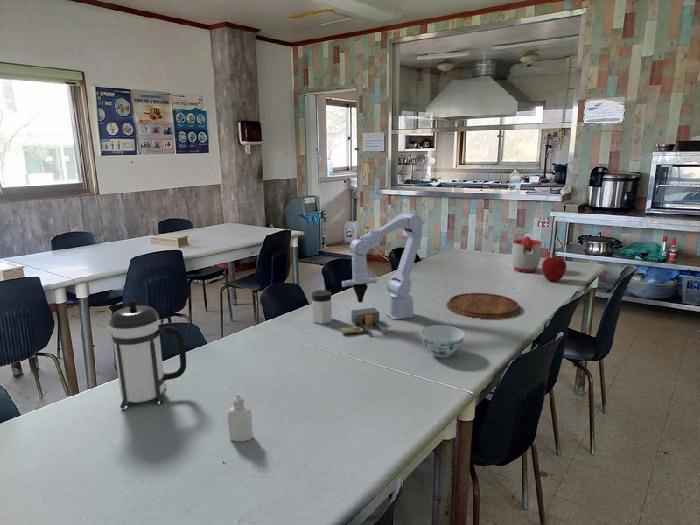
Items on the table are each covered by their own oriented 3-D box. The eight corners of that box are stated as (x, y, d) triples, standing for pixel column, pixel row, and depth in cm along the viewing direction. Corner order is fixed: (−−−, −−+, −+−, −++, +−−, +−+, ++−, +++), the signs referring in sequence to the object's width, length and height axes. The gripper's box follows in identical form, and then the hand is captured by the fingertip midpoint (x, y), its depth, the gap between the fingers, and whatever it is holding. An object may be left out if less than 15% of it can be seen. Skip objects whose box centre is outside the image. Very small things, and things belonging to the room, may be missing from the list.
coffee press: (139, 418, 131) (126, 313, 124) (105, 402, 139) (90, 303, 133) (191, 391, 145) (181, 295, 139) (156, 378, 154) (146, 287, 147)
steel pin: (363, 317, 207) (363, 306, 205) (372, 326, 195) (372, 315, 194) (356, 318, 206) (356, 307, 205) (365, 327, 195) (365, 316, 193)
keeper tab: (361, 329, 192) (362, 326, 192) (365, 332, 188) (365, 330, 188) (339, 330, 189) (340, 327, 189) (342, 333, 186) (342, 330, 185)
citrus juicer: (513, 274, 271) (515, 239, 266) (508, 266, 288) (510, 233, 283) (543, 275, 268) (545, 239, 264) (536, 267, 285) (539, 234, 280)
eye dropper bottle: (239, 430, 125) (236, 387, 122) (255, 437, 122) (252, 393, 119) (226, 438, 121) (223, 395, 118) (242, 445, 118) (239, 401, 115)
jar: (317, 325, 198) (316, 297, 195) (308, 319, 204) (307, 292, 202) (336, 320, 203) (335, 293, 200) (326, 315, 209) (325, 288, 206)
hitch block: (374, 319, 204) (374, 307, 203) (390, 334, 187) (390, 321, 186) (351, 321, 201) (351, 310, 200) (365, 337, 184) (365, 324, 183)
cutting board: (439, 315, 208) (440, 309, 208) (453, 294, 237) (453, 289, 236) (518, 324, 196) (518, 318, 196) (522, 301, 225) (523, 296, 225)
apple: (568, 283, 251) (571, 258, 247) (546, 284, 251) (548, 258, 248) (559, 277, 262) (561, 253, 259) (537, 278, 262) (539, 253, 259)
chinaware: (436, 341, 179) (437, 322, 177) (472, 353, 169) (473, 332, 167) (411, 354, 169) (411, 333, 167) (447, 367, 158) (448, 345, 157)
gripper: (372, 265, 200) (373, 296, 203) (339, 268, 196) (340, 300, 199) (379, 269, 193) (379, 301, 197) (344, 272, 189) (345, 306, 192)
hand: (360, 301), depth 197 cm, fingers closed
